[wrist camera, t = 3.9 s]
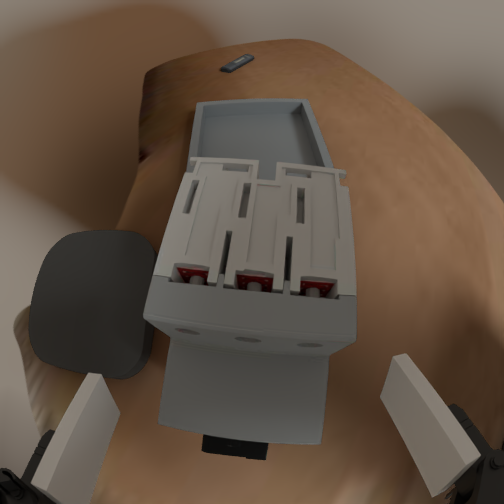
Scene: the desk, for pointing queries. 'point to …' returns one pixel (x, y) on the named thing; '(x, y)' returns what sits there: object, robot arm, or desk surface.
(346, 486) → the desk surface
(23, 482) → the robot arm
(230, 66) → the usb stick
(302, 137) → the tray
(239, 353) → the circuit breaker
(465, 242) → the desk surface
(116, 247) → the media streaming box
